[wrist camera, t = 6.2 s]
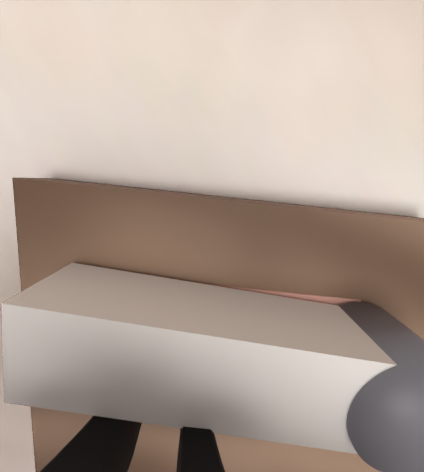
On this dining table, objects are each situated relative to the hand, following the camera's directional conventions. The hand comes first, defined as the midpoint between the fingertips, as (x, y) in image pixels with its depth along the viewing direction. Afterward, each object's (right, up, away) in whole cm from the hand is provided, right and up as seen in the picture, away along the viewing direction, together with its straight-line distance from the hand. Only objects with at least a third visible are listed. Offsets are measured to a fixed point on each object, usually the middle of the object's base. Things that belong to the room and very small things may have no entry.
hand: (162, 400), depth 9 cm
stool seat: (+2, 0, +3) cm, 4 cm away
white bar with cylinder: (+3, +3, 0) cm, 4 cm away
